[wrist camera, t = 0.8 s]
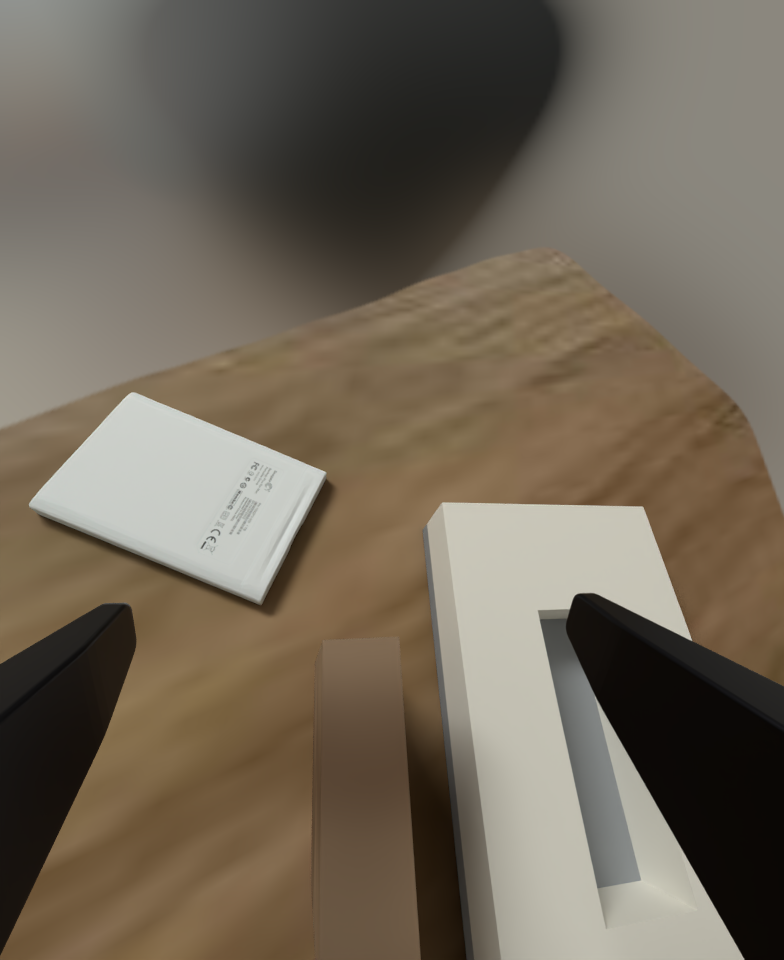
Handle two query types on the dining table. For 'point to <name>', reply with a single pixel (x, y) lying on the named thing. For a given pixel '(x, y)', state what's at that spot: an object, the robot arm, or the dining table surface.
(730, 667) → the robot arm
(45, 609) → the dining table surface
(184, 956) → the dining table surface
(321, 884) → the walnut plate
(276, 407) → the dining table surface
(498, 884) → the slotted board
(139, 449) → the external hard drive
